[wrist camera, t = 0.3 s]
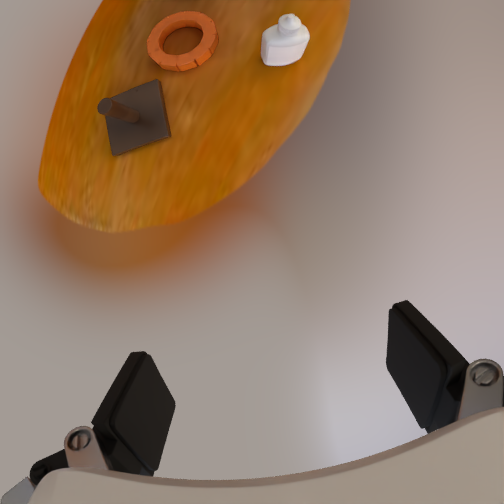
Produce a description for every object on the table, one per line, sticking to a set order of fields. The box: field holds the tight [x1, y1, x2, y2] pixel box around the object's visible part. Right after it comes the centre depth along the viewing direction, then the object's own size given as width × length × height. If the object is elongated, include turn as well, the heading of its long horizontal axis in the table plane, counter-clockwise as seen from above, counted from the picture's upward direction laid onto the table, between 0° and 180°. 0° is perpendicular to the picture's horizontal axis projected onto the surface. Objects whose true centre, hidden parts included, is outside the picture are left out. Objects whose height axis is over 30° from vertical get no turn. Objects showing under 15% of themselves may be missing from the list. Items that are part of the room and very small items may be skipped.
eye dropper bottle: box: [261, 14, 310, 66], centre depth 26 cm, size 4×6×12 cm
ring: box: [147, 11, 219, 72], centre depth 29 cm, size 10×10×2 cm
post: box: [98, 79, 171, 156], centre depth 29 cm, size 9×9×10 cm
